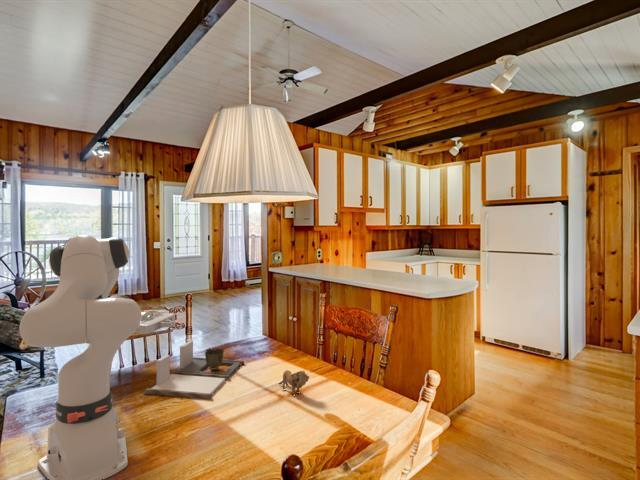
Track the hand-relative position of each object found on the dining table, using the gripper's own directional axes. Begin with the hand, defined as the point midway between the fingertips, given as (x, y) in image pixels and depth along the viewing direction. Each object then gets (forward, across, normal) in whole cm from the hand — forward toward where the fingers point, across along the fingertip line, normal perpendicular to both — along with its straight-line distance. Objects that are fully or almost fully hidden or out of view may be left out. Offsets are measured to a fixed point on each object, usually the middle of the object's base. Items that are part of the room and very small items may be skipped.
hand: (173, 324), depth 149 cm
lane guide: (+16, -9, +18) cm, 26 cm away
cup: (+18, 0, +18) cm, 26 cm away
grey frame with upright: (+16, 0, +18) cm, 24 cm away
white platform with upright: (+16, -17, +18) cm, 30 cm away
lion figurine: (+55, -15, +18) cm, 59 cm away
